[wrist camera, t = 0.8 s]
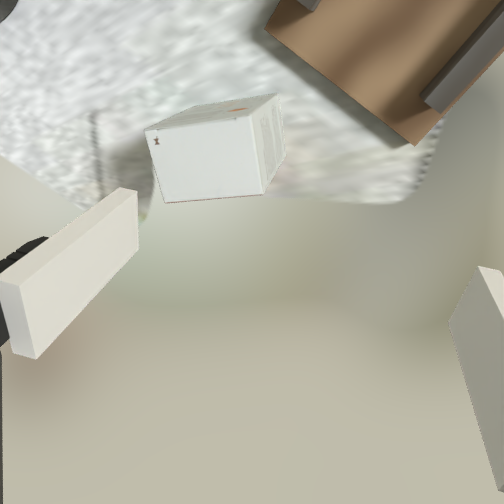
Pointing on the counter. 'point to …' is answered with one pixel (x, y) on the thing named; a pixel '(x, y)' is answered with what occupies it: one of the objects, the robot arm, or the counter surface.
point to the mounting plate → (395, 51)
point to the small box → (218, 149)
